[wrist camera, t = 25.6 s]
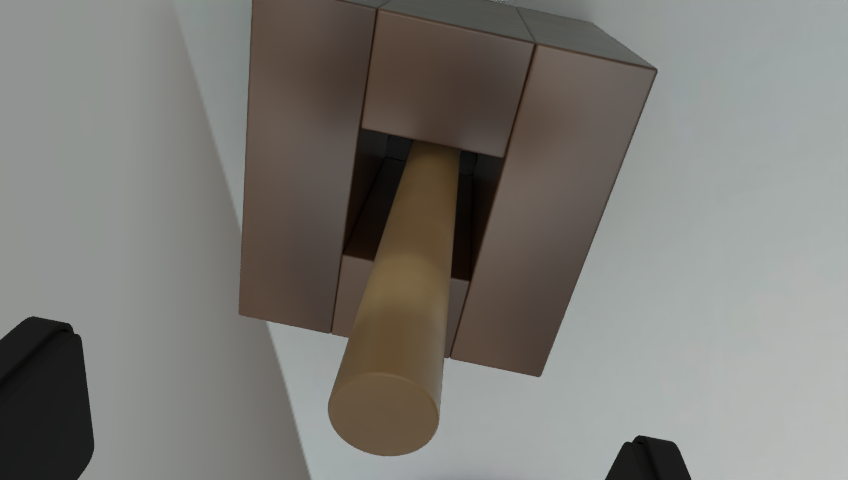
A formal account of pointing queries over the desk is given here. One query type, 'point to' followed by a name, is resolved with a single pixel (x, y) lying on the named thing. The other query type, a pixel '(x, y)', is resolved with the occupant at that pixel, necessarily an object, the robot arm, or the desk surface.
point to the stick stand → (438, 124)
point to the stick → (402, 316)
